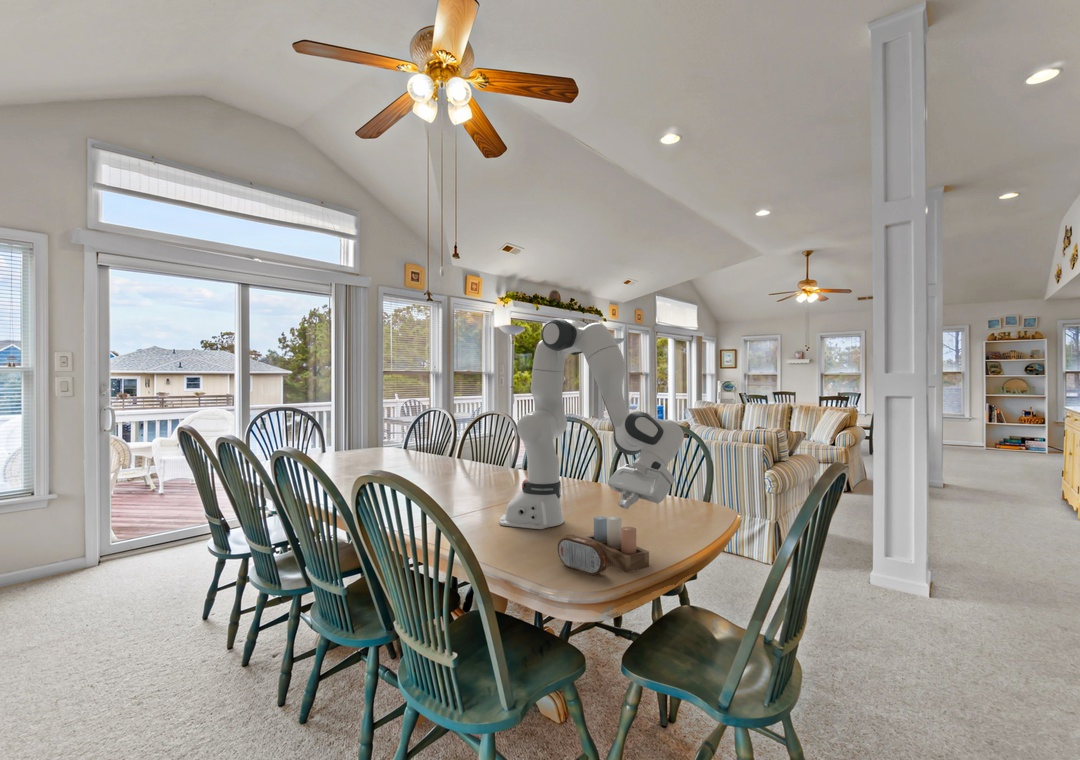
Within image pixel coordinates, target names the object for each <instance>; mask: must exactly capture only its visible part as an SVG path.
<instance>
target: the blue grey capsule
mask: <svg viewBox="0 0 1080 760" xmlns="http://www.w3.org/2000/svg"><path fill="white" fill-rule="evenodd" d="M593 535H594V540H595V541H598V542H603V541H607V517H606V516H601V515H600V516H594V517H593Z"/></svg>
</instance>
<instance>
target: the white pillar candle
mask: <svg viewBox="0 0 1080 760" xmlns="http://www.w3.org/2000/svg"><path fill="white" fill-rule="evenodd" d="M622 519H623V518H622V517H620V516H615V515H614V516H613V515H612V516H608V517H607V546H609V547H611V548H617V547H621V528H623V526H622V524H623V523H622V521H623V520H622Z"/></svg>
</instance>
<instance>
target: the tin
mask: <svg viewBox="0 0 1080 760" xmlns="http://www.w3.org/2000/svg"><path fill="white" fill-rule="evenodd" d="M557 554H558V558H559V560H560V561H561V562H562V564H563V565H564V566H565V567H567V568H569V567H570V568H569V569H573V570H575V569H576V571H578V570H579V572H581V571H582V572H581V573H584V572H585V574H587V573H588V575H590V574H591V576H596V575H598V574H600V573H602V572H604V571H606V569H607V568H608V565H609V564H608V556H607V553H606V551H605V549H604V548H603V546H602V545H601V544H599V543H598V542H596V541H593V540H589V539H586V538H582V536H578V535H575V534H567V535H566V536H564V537H562V538H561V539H560V540H559V542H558V543H557Z"/></svg>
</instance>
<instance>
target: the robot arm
mask: <svg viewBox="0 0 1080 760" xmlns="http://www.w3.org/2000/svg"><path fill="white" fill-rule="evenodd" d="M570 354H571V355H572V356H577V355H579V354H583V356H584V358H585V360H586V362H587V363H586V364H587V365H588V367H589V369H590V371H591V374H592V375H593V378H594V380H595V383H596V384H597V387H598V390H599V392H600V395H601V397H602V401H603V404H604V406H605V408H606V411H607V413H608V417H609V419H610V422H611V424H612V431H613V444H614V446H615V447H616V449H617V450H618V451H619V452H620V453H622V454H624V455H627V456H635V455H637V457H636V458H635V459H634V461H633V462H632V464H629V463H626V464H625V465H621V466H620V467H619V468H617V470H615V472H613V474H612V475H611V476H610V477H609V479H608V480H607V485H608V487H609V488H610V489H611V490H612V491H614V492H617V493H620V500H619V501H618V502H617V505H618V506H619V507H620V508H624V509H626V510H629V509H630V507H631V506H632V505H634V504H635V503H636V502H638V501H639V499H640V500H641V499H642V500H645V501H647V502H650V503H651V502H652V503H655V504H660V503H661V502H663V501H664V499H665V498H666V497H667V495H668V494H669V491H670V490H671V485H673V484H674V483H675V481H676V478H675V477H674V476H673V474H672V473H671V472H670V470H669V469H668V468H669V464H670V462H671V461H672V460H674V459H675V457H676V456H677V454H678V452H679V451H680V448H681V447H682V445H683V442H684V439H685V433H684V431H683V429H682V427H681V425H679V424H678V423H677V422H675V421H674V420H672V419H669V418H668V419H660V418H656V417H654V416H651V415H649V413H647V412H643V411H639V410H638V411H634V412H631V413H630V411H629V409H628V406H627V404H626V402H625V398H624V394H623V384H624V377H625V373H626V368H627V367H626V363H625V358H624V355H623V353H622V350H621V349H620V347H619V345H618V342H617V341H616V340H615V337H614V336H613V334H612V333H611V332H610V330H609V329H608V328H607V326H606V325H605V324H603V323H600V322H593V323H589V322H587V321H581V320H578V319H573V318H571V319H569V318H560V317H558V318H556V317H555V318H552V319H548V320H547V321H546V322H545V323H544V325H543V326H542V330H541V340H539V341H538V343H537V344H536V349H535V351H534V357H533V361H532V362H533V363H532V370H531V382H530V393H531V395H532V397H533V400H534V401H533V402H534V411H529V412H528V413H526V414H524V415H523V416H522V417H520V418H519V420H518V421H517V425H516V431H517V434H518V437H519V438H520V439H521V440H522V442H523V445H524V446H523V447H524V449H525V453H526V461H527V479H523V481H522V483H521V488H522V489H521V492H520V493H518V494H517V495H516V496H515V497H513V498H512V499H511V500H510V501H509V502H508V504H507V507H506V510H505V513H504V514H502V515H501V516H500V518H499V525H501V526H503V527H504V526H506V527H515V528H523V529H532V530H535V529H536V530H545V529H546V528H551V527H552V528H553V527H556V526H557V527H558V526H560V525H562V524H563V523H565V519H564V515H563V511H562V510H563V509H562V503H561V496H562V483H561V480H560V457H559V456H558V455H557V452H556V449H555V448H556V447H555V445H554V439H558V438H560V436H561V435H563V434H564V433H565V431H566V430H567V427H568V419H567V416H566V415H565V409H564V401H563V399H564V398H563V387H564V378H565V377H564V375H565V364H566V359H567V357H568V356H569V355H570Z"/></svg>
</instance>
